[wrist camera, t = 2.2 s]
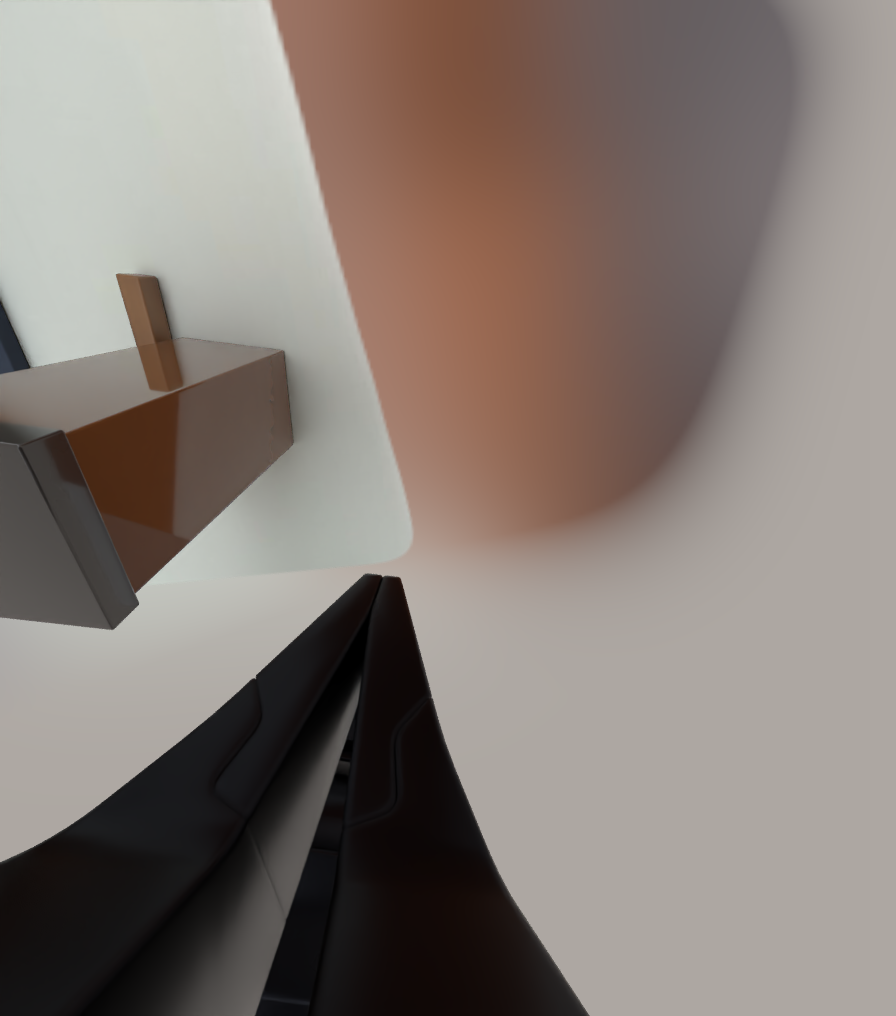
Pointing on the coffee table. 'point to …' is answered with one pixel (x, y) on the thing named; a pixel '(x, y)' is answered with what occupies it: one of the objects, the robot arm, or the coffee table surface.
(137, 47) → the coffee table surface
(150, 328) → the stop
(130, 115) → the coffee table surface
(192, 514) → the brown capped block
